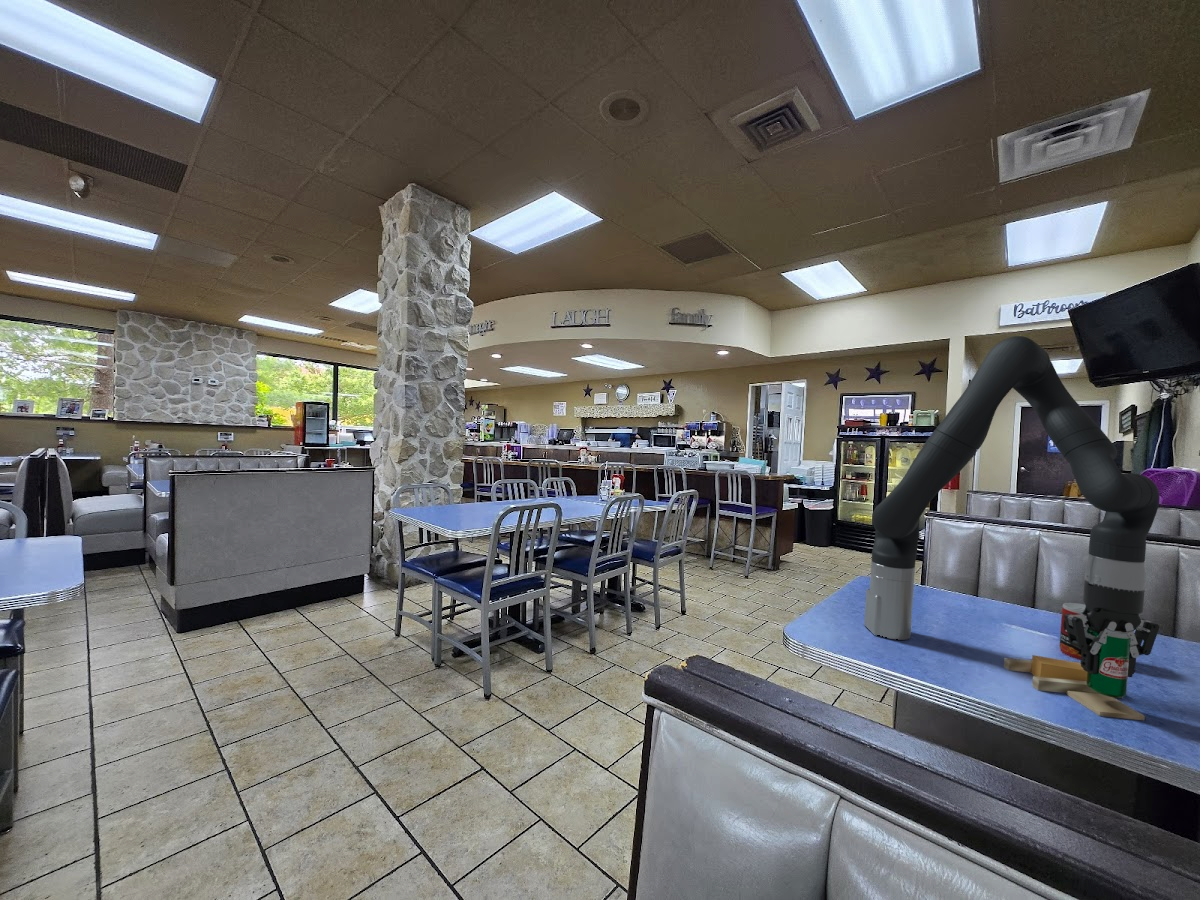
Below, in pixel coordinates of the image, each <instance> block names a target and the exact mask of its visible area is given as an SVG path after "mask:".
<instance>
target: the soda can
mask: <svg viewBox="0 0 1200 900" xmlns="http://www.w3.org/2000/svg"><path fill="white" fill-rule="evenodd" d="M1127 633H1128V632H1124V631H1123V630H1121V631H1111V633H1110V634H1109V635H1108V636H1107V640H1106V644H1104V645H1101V647H1100V649H1099V651H1098V653H1097V655H1099V656H1098V669H1097V674H1090V673H1088V672H1087V685H1088V686H1089V688H1090V689H1092V690H1093V691H1095V692H1097V693H1100V694H1102V695H1105V696H1109V697H1114V698H1115V699H1123V698H1124V697H1125V696H1127V689H1128V680H1129V679H1128V678H1129V677H1128V667H1129V655H1130V642H1131V638H1130V637H1129V635H1128V634H1127ZM1091 635H1093V636H1095V637H1097V636H1098V635H1099V634H1098V633H1096V632H1093V631H1092V630H1091ZM1092 642H1093V640H1092V639H1091V643H1092ZM1090 645H1091V644H1090Z"/></svg>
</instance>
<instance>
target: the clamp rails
mask: <svg viewBox="0 0 1200 900" xmlns="http://www.w3.org/2000/svg"><path fill="white" fill-rule="evenodd" d="M1003 668H1005V669H1006V670H1007V671H1011V672H1021V673H1022V672H1023V673H1031V668H1032V659H1022V658H1013V657H1012V658H1009V657H1004V661H1003ZM1031 686H1032V687H1033V689H1036V690H1037V691H1041V692H1042V691H1043V692H1053V693H1062V694H1067V691H1075V692H1086V693H1096V694H1100V693H1097V692H1095V691H1093V690H1092V689H1090V688H1089V686H1088V685H1087V681H1077V680H1066V679H1056V678H1045V677H1035V676H1034V675H1033V676H1032V685H1031ZM1113 698H1114V697H1113Z"/></svg>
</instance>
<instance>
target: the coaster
mask: <svg viewBox="0 0 1200 900" xmlns="http://www.w3.org/2000/svg"><path fill="white" fill-rule="evenodd" d="M1066 695H1067V696H1068V697H1070V698H1071V699H1073V700H1074V701H1075V702H1077V703H1079V704H1081V705H1082V706H1084V707H1085V708H1087V709H1088V710H1090V711H1091V712H1093V713H1094V714H1095V715H1097V716H1099V717H1108V718H1116V719H1117V718H1118V719H1126V720H1127V719H1128V720H1136V721H1137V720H1138V721H1145V718H1146V717H1145V715H1144V714H1142V713H1141V712H1139V711H1137V710H1136V709H1133V708H1132V707H1130V706H1128V705H1127V704H1125V703H1123V702H1122V701H1120V700H1118V698H1113V697H1109V696H1105V695H1102V694H1096V693H1086V692H1075V691H1067V693H1066Z"/></svg>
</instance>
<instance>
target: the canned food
mask: <svg viewBox="0 0 1200 900" xmlns="http://www.w3.org/2000/svg"><path fill="white" fill-rule="evenodd" d="M1085 607H1086V606H1085V603H1079V602H1078V603H1076V602H1064V603H1063V604H1062V608H1061V620H1060V622H1061V623H1060V633H1059V634H1060V635H1059V649H1060V652H1061V653H1062V654H1064V655H1066V656H1068V657H1070V658H1074V659H1075V660H1080V661H1081V649H1079V648H1078V647H1076V646H1073V645H1071V644H1070V643H1069V640H1068V634H1067V629H1066V623H1065V618H1064V616H1065V614H1067V613H1069V614H1071V615H1079V614H1082V612H1083V611H1084V610H1085ZM1085 625H1087V623H1086V622H1085ZM1084 629H1085V627H1084Z"/></svg>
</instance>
